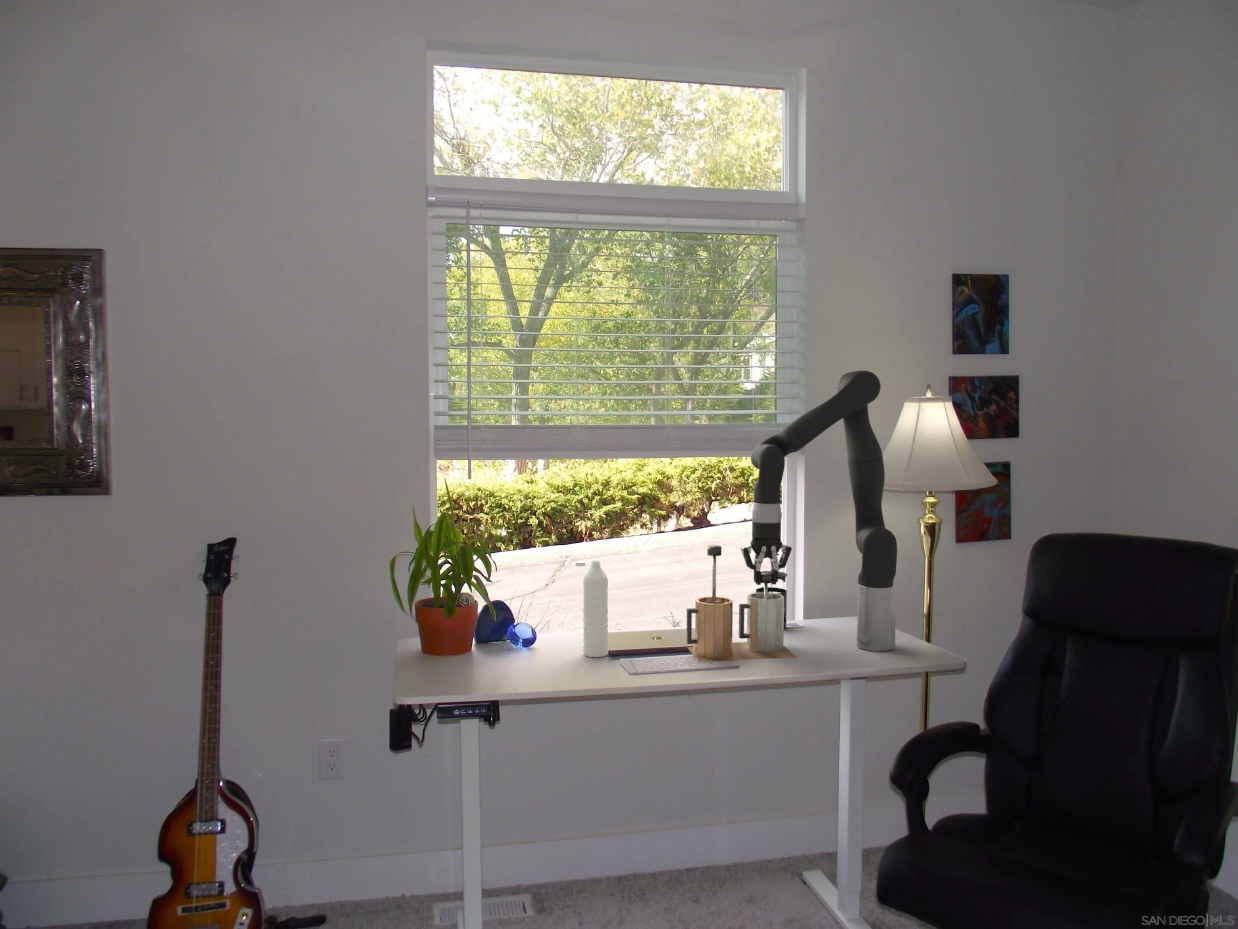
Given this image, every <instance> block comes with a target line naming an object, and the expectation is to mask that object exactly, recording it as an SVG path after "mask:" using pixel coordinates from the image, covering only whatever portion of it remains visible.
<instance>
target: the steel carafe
mask: <svg viewBox="0 0 1238 929" xmlns="http://www.w3.org/2000/svg"><path fill="white" fill-rule="evenodd" d="M776 593H777V592H772V593H771V592H769V593H768V595H767V599H764V592H758V593H756V592H751V593H749V594H747V600H746V601H747V602H746V603H738V638H739V639H743V640H744V639H746V642H747V648H748V649H749V650H752V651H755V652H762V653H775V652H779V651H782V650H783V646H784V641H785V640H784V639H785V638H784V637H785V636H784V633H785V631H784V630H785V629H784V596H783V595H781V594H776ZM745 609H746V610H747V612H746V614H747V618H746V620H747V621H746V622H747V623H746V632H745Z"/></svg>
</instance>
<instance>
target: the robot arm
mask: <svg viewBox="0 0 1238 929" xmlns="http://www.w3.org/2000/svg"><path fill="white" fill-rule="evenodd" d="M881 386H882V385H881V381H880V379H879V377H878V375H876V374H875V373H873V372H872V371H869V370H854V371H850V372H846V373H845V374H842V376H841V377H840V378H839V380H838V381H837V385H836V393H835V394H834V395H833V396H832V397H830V398H829V399H827V400H826V401H824V402H822V403H821V404H820V405H818V406H817V405H816V406H815V407H814V408H812V409H810V410H808V411H806V412H805V413H803V414H802V415H800V416H799V417H797V418H796V419H795V420H793V421H792V422H791V423H789V424H788V425H787V426H785V427H784V428H783V429H782V430H781V431H779V432H777V433H776V434H773V435H772V436H770V437H768V438H767V439H765V440H764V441H761V442H760V443H759V444H757V445H756V446H755V447H754V449H752V452H751V454H750V462H751V464H752V466H753V467H754V468H755V469H756V470H758V478H757V479H758V480H757V481H756V482H754V485H753V503H752V504H753V505H752V510H751V511H752V515H751V516H752V519H751V526H752V527H751V529H752V530H751V542H750V544H749V545H745V546H741V547H740V551H741V554H742V556H743V559H744V562H745V565H746V567H747V568H748V569H750V570H753V581H754V583H755V584H756V585H757V586H761V585H762V583H761V572H762V571H761V567H762V563H763V562H764V559H767V558H768V559H769V560H768V561H770V571H771V573H772V574H773V583H770V585H771V584H772V586H773V585H777V583H778V581H779V579H778V572H780V571H779V570H781V569H785V567H786V566H787V563H788V561H789V558H790V555H791V552H792V547H791V546H789V545H785V544H783V542H782V539H781V537H782V507H781V485H782V481H783V477H784V472H785V465H786V461H785V460H786V459H785V457H787V456H788V455H789V454H793V453H797V452H799V451H800V450H802V449H803V448H804V447H806V446H807V445H808V444H810V443H811V442H812V441H813V440H815V439H816V438H817V437H819V436H820V435H821V434H822V433H824V432H825V431H826V430H828V429H829V428H830V427H832V426H834V425H835V424H836V423H837V422H839V421H840V420H842V422H843V428H844V438H845V447H846V453H847V454H846V455H847V466H848V473H849V474H848V475H849V481H850V487H851V494H852V499H853V504H854V505H853V506H854V513H855V544H856V547H857V549H858V551H859V553H860V554H861V570H860V572H859V573H858V575H857V617H856V618H857V621H856V622H857V624H856V628H857V630H856V647H857V648H859V649H861V650H865V651H869V652H870V651H871V652H888V651H891V650H896V627H897V626H896V625H897V624H896V623H897V622H896V621H897V614H895V613H894V608H893V607H894V581H895V580H894V579H895V577H896V576H897V562H898V558H897V557H898V543H897V538H896V536H895V534H894V533H893V532H892V531H891V530H889V529H888V528H886V525H885V521H884V515H883V508H882V507H883V506H882V504H883V503H882V502H883V495H884V487H885V480H886V477H885V476H886V475H885V463H884V455H883V450H882V448H881V445H880V443H879V441H878V438H877V436H876V434H875V432H874V429H873V427H872V424H871V422H870V418H869V407H868V406H869V405H868V404H871V403H872V402H874V401H876V399H877V398H878V396H879V395H880V393H881ZM752 551H753V552H754V553H755V556H754V558H753V560H754V562H753V560H752V557H751V553H752ZM779 551H781V555H780V556H779V557H780V558H779V559H778V555H777V553H778V554H779ZM771 567H772V569H771Z"/></svg>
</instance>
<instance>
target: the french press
mask: <svg viewBox="0 0 1238 929" xmlns="http://www.w3.org/2000/svg"><path fill="white" fill-rule="evenodd" d="M777 556H780V554H779V552H778V553H777ZM771 569H772V567H771V566H770V570H764V571H763V570H762V571H761V573H771ZM787 576H788V574H787V573H786V572H784V571H783V572H782V571H778V580H781V581H782V582H783V583H786V577H787ZM758 592H764V586H761V587H758V588H756V589H755V593H758ZM768 593H776V594H781V595H783V596H784V630H786V629H787V628H788V627H787V625H788V624H787V622H788V621H787V605H788V604H787V599H788V590H786V588H785V589H784V588H781V587H773V584H771V583H770V586H768Z"/></svg>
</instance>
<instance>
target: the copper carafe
mask: <svg viewBox="0 0 1238 929" xmlns="http://www.w3.org/2000/svg"><path fill="white" fill-rule="evenodd" d="M733 601H734V600H732V599H731V598H728V597H723V596H716V603H719V604H708V603H712V596H701V597H698V598H696V599H695V601H694V602H695V606H694V607H691V608H686V645H689V644H695V653H696V655H697V656H700V657H703V658H711V659H720V658H727V657H730V656H731V655H732V643H733V620H734V619H733V613H734V612H733V608H734V606H733V604H734V602H733ZM692 614H695V619H694V622H695V623H694V624H695V625H694V628H695V630H694V633H695V634H694V635H695V636H694V638H693V637H692V635H693V634H692V633H693V631H692V628H693V626H692V624H693V622H692V620H693V619H692V618H693V615H692Z"/></svg>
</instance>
